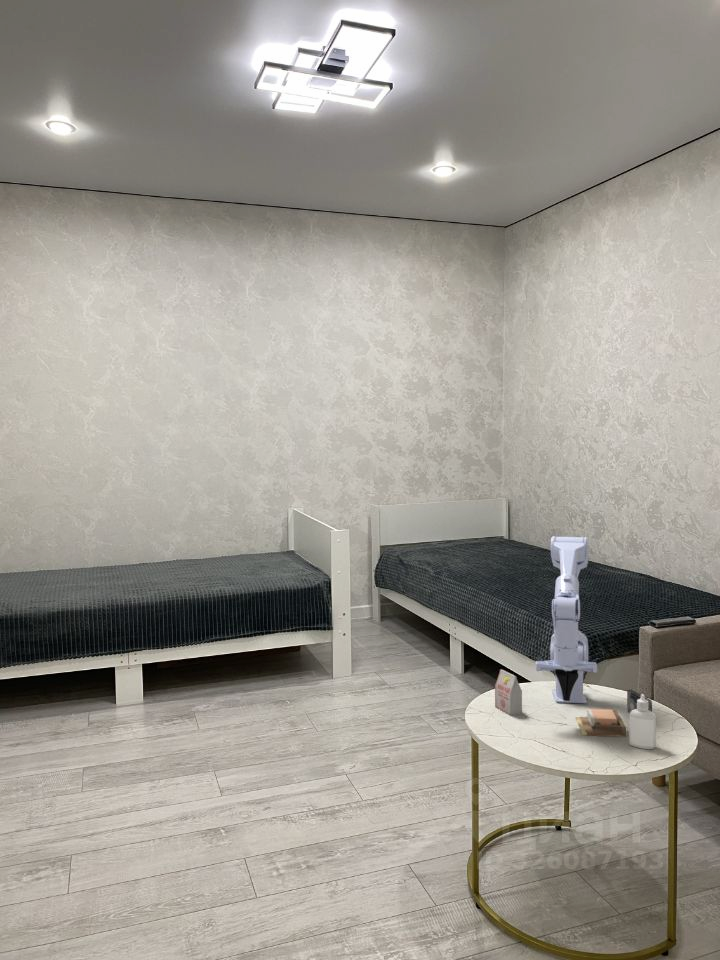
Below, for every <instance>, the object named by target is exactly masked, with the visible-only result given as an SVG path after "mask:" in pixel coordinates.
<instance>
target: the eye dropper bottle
mask: <svg viewBox="0 0 720 960" xmlns="http://www.w3.org/2000/svg"><path fill="white" fill-rule="evenodd" d="M640 695H641V698H640V699H638V700H637V709H634V710H632V711H631V712H630V714H629V719H628V720H629V722H628V723H629V724H628V725H629V727H628V729H629V730H628V731H629V733H628V734H629V736H628V739H629V740H628V742H629V745H630V746H632V747H635V748H639V749H643V750H654V749H656V746H657V745H656V744H657V743H656V741H657V737H656V736H657V717H656V714H655V713H654V712H653V711H652V712H651V711H649V710H648V701H647V700H646V699H645V697H646V695H645V694H643V693H642V694H641V693H640Z"/></svg>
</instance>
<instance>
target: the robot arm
mask: <svg viewBox="0 0 720 960" xmlns="http://www.w3.org/2000/svg"><path fill="white" fill-rule="evenodd" d="M550 557H551V563H552V566H553V567H555V568H558V569H559V570H560V575H559V576H558V577H557V578H556V579H555V588H554V589H555V590H554V598H552V601H551V617H552V626H553V634H552V636H551V637H550V640H551V641H550V648H549V649H550V653H549V654H550V657H549V658H550V660H536V661H535V671H536V672H541V671H547V672H549V671H550V672H551V671H552V672H553V671H554V674H555V688H553V689H551V691H552V694H553V697H554V699H555V702H556V703H561V704H562V703H570V704H587V703H588V701H587V698H586V697H585V694H584V672H592V673H598V664H597V662H595V661H589V640H588V638H587V636H586V634H584V633H583V632H582V631H580V630H579V621H580V618H581V601H580V593H579V592H580V582H579V581H580V580H579V575H580V572H581V570H583V569H584V568H587V567H588V564H589V537H587V536H584V537H582V536H578V537H577V536H555V535H553V536H552V537H551V538H550Z"/></svg>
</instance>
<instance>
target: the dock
mask: <svg viewBox="0 0 720 960" xmlns="http://www.w3.org/2000/svg"><path fill="white" fill-rule="evenodd" d="M611 710H612V711H613V712H614V714H615V716H616V718H617V722H618V724H619V726H618V725H595V729H594V728H593V726H591V724H590V722H589V720H588V717H587V716H579V717H578V716H575V719H576V721H577V725H578V727H579V729H580V732H581V734H582V736H592V737H593V736H596V737H599V736H600V737H601V736H602V737H623V738H624V737H625V738H626V737H627V726H626V724H625V723H624V721H623V719H622V717H621V715H620V714H619V712H618V710H616V709H611Z"/></svg>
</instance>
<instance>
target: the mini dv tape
mask: <svg viewBox="0 0 720 960" xmlns="http://www.w3.org/2000/svg"><path fill="white" fill-rule="evenodd" d="M626 692H627V694H626V695H627V699H626V701H627V704H626V706H627V707H626V708H627V709H626V713H628V714H629V715H630V712H631V711H632V710H634V709H637V700H638V699H640V698H641V693H638V692H637V691H635V690H633V689H627V690H626ZM645 699H646V700H647V701H648V710H649V711H651V712H652V713H653V701H652V700H651V699H649V698H648V697H646V696H645Z"/></svg>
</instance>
